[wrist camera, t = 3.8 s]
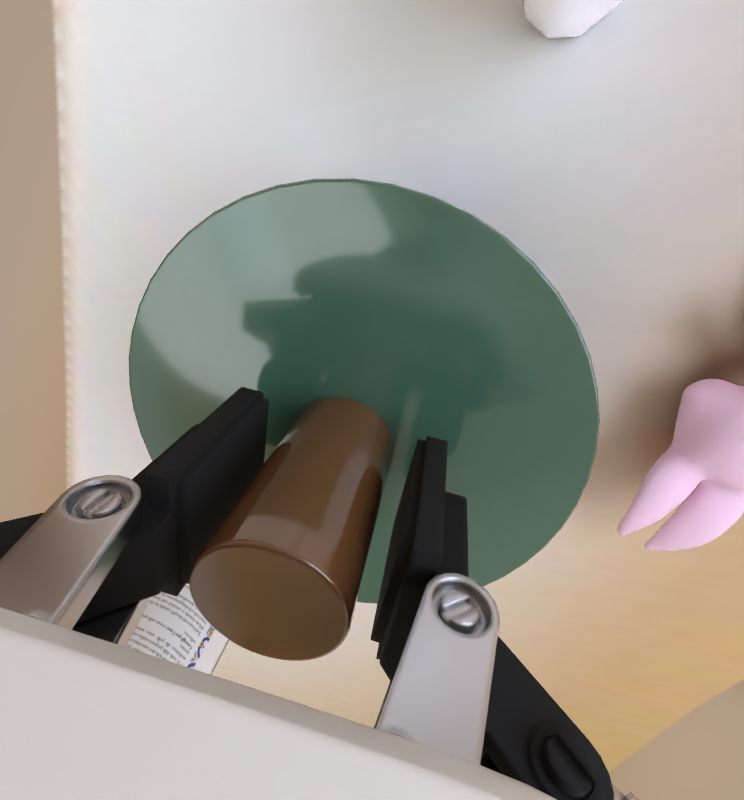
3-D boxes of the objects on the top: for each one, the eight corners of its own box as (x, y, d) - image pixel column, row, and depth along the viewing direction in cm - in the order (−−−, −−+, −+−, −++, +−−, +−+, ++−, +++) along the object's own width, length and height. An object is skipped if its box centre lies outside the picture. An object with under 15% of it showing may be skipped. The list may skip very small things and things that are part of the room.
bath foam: (169, 485, 27) (-362, 1021, 10) (269, 500, 26) (-121, 1134, 9) (187, 562, 30) (-188, 1073, 13) (278, 578, 29) (4, 1160, 12)
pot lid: (138, 128, 11) (-269, 45, 5) (689, 248, 10) (1066, 339, 4) (163, 520, 17) (4, 695, 11) (494, 618, 16) (515, 870, 10)
